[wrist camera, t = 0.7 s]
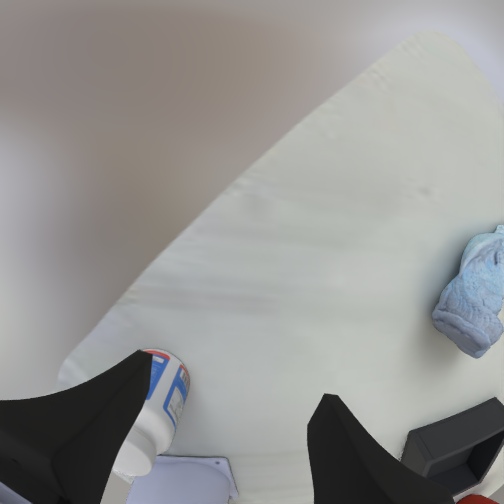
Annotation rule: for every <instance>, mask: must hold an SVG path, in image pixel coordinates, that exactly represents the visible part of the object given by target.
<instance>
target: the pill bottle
mask: <svg viewBox="0 0 504 504" xmlns="http://www.w3.org/2000/svg"><path fill="white" fill-rule="evenodd" d="M142 351H145V352H148V353H151V354H153V359H152V369H151V379H150V390H149V393H148V395H147V398H146V400H145V403H144V405H143V408H142V410H141V412H140V414H139V415H138V417H137V419H136V421H135V423H134V424H133V426H132V428H131V430H130V432H129V433H128V435H127V437H126V439H125V441H124V442H123V444H122V446H121V448H120V450H119V452H118V455H117V457H116V460H115V462H114V465H113V467H112V469H113V470H115V471H117V472H119V473H122V474H125V475H129V476H136V477H139V476H145V475H147V474H149V473H150V472H151V470H152V467H153V465H154V462H155V460H156V457H157V455H159V454H161V453H163V452H165V451H166V450H167V449H168V448H169V447H170V445H171V443H172V440H173V438H174V435H175V432H176V428H177V425H178V422H179V418H180V415H181V412H182V409H183V405H184V402H185V399H186V396H187V393H188V389H189V375H188V372H187V370H186V368H185V367H184V365H183V364H182V363H181V361H180V360H179V359H177V358H176V357H175V356H173V355H172V354H170V353H168V352H166V351H163V350H160V349H152V348H151V349H144V350H142Z"/></svg>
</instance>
